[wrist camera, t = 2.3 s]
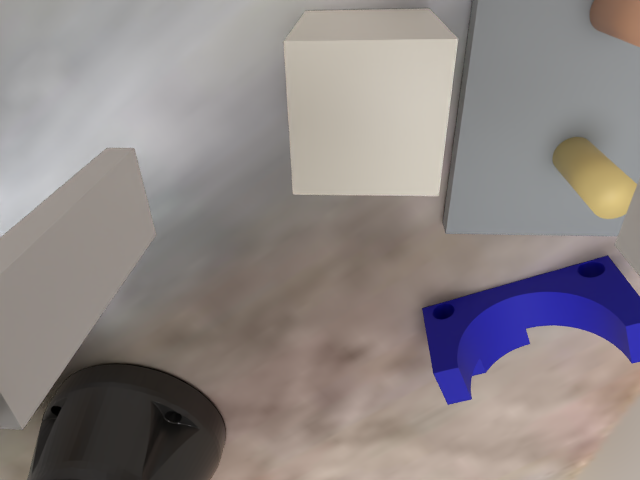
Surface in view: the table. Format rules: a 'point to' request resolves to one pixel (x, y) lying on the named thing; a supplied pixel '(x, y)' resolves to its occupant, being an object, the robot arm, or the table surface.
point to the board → (547, 119)
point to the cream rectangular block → (368, 101)
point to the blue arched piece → (528, 320)
